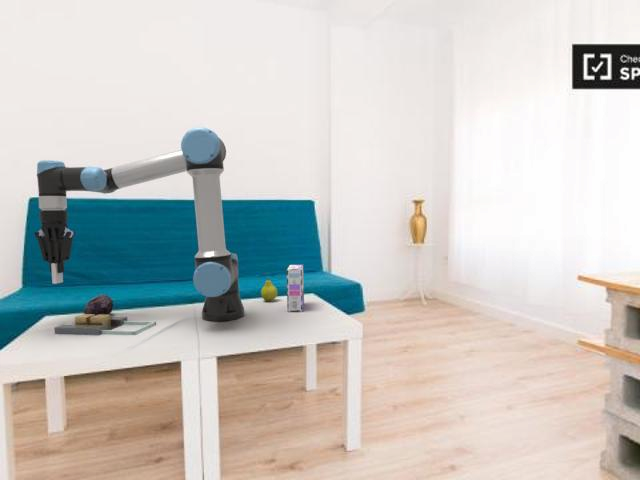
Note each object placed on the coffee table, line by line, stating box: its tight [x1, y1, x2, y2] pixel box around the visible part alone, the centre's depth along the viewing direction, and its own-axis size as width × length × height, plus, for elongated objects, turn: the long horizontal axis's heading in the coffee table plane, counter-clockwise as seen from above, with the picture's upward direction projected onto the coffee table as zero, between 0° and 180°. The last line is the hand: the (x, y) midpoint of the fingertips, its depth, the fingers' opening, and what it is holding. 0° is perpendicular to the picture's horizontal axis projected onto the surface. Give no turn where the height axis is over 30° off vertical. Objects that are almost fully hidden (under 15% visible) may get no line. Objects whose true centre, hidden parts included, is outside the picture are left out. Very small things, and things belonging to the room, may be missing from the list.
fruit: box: [260, 273, 278, 302], centre depth 176 cm, size 7×7×12 cm
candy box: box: [286, 264, 305, 313], centre depth 162 cm, size 14×6×16 cm, turn 179°
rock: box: [83, 294, 115, 316], centre depth 149 cm, size 12×9×10 cm
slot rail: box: [54, 316, 128, 336], centre depth 133 cm, size 15×14×4 cm
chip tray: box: [101, 320, 157, 336], centre depth 131 cm, size 11×12×2 cm
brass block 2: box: [90, 314, 111, 329], centre depth 132 cm, size 4×4×4 cm
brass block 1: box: [74, 313, 95, 325], centre depth 133 cm, size 4×4×4 cm
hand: (57, 282), depth 134 cm, fingers closed
